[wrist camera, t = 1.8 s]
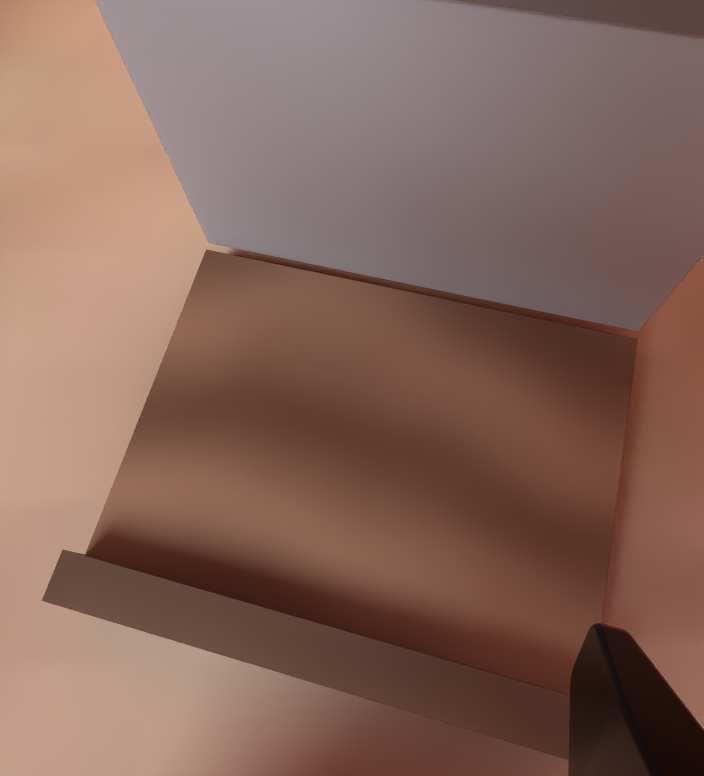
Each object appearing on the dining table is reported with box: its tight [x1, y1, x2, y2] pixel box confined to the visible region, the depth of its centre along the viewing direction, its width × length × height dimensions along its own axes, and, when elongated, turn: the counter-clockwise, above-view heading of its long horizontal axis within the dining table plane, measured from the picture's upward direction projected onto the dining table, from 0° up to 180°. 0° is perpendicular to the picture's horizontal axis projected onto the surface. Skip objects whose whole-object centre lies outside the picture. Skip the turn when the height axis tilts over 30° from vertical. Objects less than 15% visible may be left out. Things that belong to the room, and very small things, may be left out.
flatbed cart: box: [42, 250, 637, 760], centre depth 21 cm, size 13×16×3 cm
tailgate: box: [95, 0, 704, 331], centre depth 18 cm, size 2×16×12 cm, turn 75°
